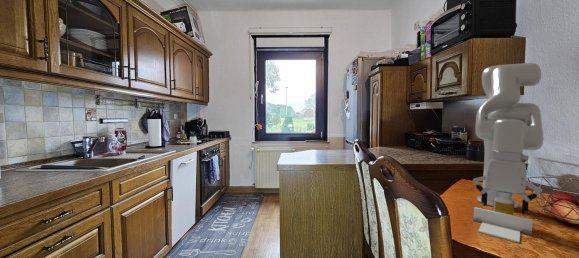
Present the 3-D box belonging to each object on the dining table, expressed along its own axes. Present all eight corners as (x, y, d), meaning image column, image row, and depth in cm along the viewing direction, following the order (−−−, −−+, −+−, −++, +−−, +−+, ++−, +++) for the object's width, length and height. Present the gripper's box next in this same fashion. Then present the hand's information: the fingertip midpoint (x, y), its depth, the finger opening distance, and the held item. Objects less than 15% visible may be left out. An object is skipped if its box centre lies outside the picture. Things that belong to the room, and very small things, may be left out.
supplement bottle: (517, 224, 82) (519, 194, 81) (498, 222, 83) (500, 192, 82) (506, 218, 87) (508, 189, 86) (488, 216, 88) (490, 188, 88)
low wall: (474, 218, 86) (475, 206, 86) (531, 231, 76) (532, 218, 76) (472, 220, 84) (473, 208, 84) (531, 234, 74) (532, 221, 74)
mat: (482, 223, 82) (482, 222, 82) (520, 232, 76) (520, 231, 76) (478, 232, 75) (478, 230, 75) (519, 242, 69) (519, 241, 69)
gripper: (543, 159, 81) (539, 213, 81) (476, 153, 92) (473, 200, 93) (544, 161, 75) (540, 219, 76) (472, 154, 87) (469, 204, 87)
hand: (503, 208), depth 84 cm, fingers open, 9 cm apart
